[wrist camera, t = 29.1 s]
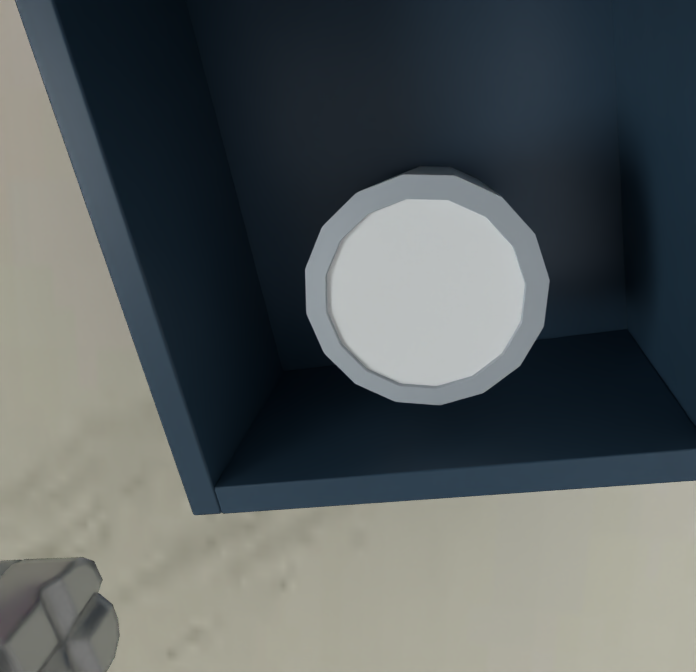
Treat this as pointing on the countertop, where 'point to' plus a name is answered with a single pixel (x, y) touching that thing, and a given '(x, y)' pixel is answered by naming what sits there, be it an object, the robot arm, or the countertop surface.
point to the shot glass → (426, 287)
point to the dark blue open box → (368, 170)
